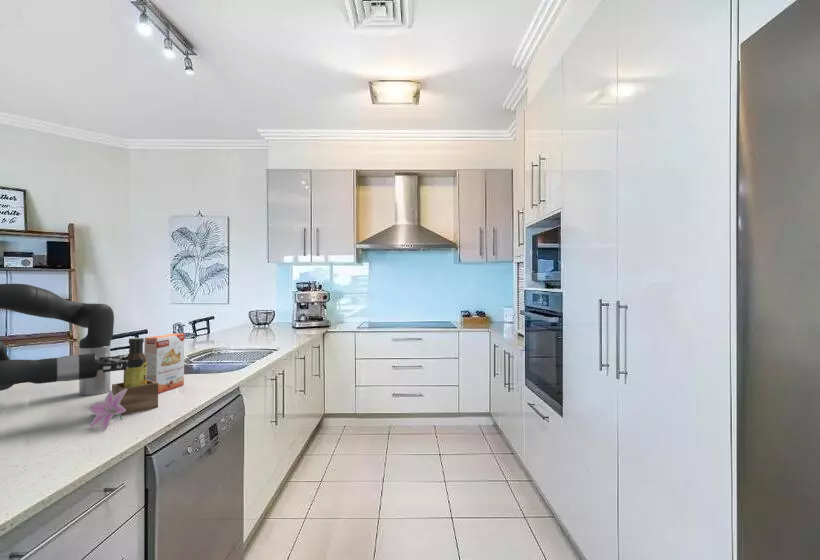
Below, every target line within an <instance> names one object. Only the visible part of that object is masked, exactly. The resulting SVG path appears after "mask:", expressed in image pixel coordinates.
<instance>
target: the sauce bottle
mask: <svg viewBox="0 0 820 560" xmlns="http://www.w3.org/2000/svg"><path fill="white" fill-rule="evenodd" d="M128 339H129V340H128V343H129V350H128V352H129V353H128V354H127V355H126V356H127V357H126V356H125V357H126V358H125V360H136V359H142V360H143V365H142V366H138V367H130V368H129V367H128V368H127V369H126V370H123V382H124V384H123V388H130V387H136V386H142V385H146V380H147V359H146V356H145V355H144V343H145V337H130V338H128Z"/></svg>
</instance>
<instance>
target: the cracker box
mask: <svg viewBox="0 0 820 560" xmlns="http://www.w3.org/2000/svg"><path fill="white" fill-rule="evenodd" d="M185 335H186V334H185V333H169V334H168V333H167V334H162V335H154V336H149V337H144V347H143V353H144V355H145V356H146V359H147V379H149V380H151V381H154V382H157V383H158V394H160V393H163V392H167V391H169V390H173V389H176V388H179V386H180V387H182V385H183V386H184V385H185V384H184V383H185V379H184V378H185V344H186V343H185V341H186V339H185Z"/></svg>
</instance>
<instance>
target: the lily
mask: <svg viewBox="0 0 820 560" xmlns="http://www.w3.org/2000/svg"><path fill="white" fill-rule="evenodd" d="M126 391H127V389H124V390H122V391H120V392H119V393H117V394H116V395H113V393H112V389H110V391H108V392H107V394H106V396H105V399H104V400H103V401H98V402H95V403H92V404H91V405H89V406H88V407H87V408H88V410H89V412H90V413H91V414H93V415H95V417H94V418H93V420H92V421H91V423H90V425H89V428H90V427H91V428H93V427H94V426H96V425H98V424H99V425H100V427H101V429H102V430H106V431H107V429H108V427H109V425H110V423H111V420H112V418H113V417H114V416H116V415H117V416H118V417H119V419H120V420H121V421H123V418H122V416H121V414H120V413H123V412H125V411H126V409H125V408H124V407H123V406H121V405H119V403H120V401H121V399H122V398H123V396H124V395H125V393H126Z"/></svg>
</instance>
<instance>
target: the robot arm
mask: <svg viewBox="0 0 820 560" xmlns="http://www.w3.org/2000/svg"><path fill="white" fill-rule="evenodd" d="M0 309H2V310H7V311H11V312H15V313H20V314H24V315H28V316H34V317H39V318H44V319H45V318H46V319H55V320H59V321H62V322H66V323H70V324H71V325H75V326H78V327H81V328H86V329H87V334H86V336H85V337H83V338H81V339H80V340H79V343H78V345H79V346H78V347H79V350H78V352H79V353H78V354H73V355H64V356H60V357H52V358H51V357H50V358H41V359H40V358H39V359H10V357H9V355H8V354H7V352H6V347H5V344H4V342H3V340H2V337H1V336H0V392H1V391H2V392H3V391H6V390H7V389H10V388H12V387H13V386H14V385H17V384H25V383H31V384H36V385H37V384H47V383H56V382H57V383H58V382H71V381H78V394H80V396H95V394H96V395H100V394H104V393H108V392H109V391H110V390H111V372H116V371H124V370H126V369H127V368H128V367H129V368H130V367H138V366H142V365H143V360H142V359H136V360H125V358H126V357H127V355H126V356H124V355H114V356H113V355H112V356H111V340H112V339H113V335H114V325H115V315H114V310H113V308H112V307H111V306H110V305H108V304H105V303H84V302H79V301H78V302H77V301H72V300H69V299H64V298H63V297H61V296H60V295H58V294H56V293H54V292H53V291H50V290H49V289H45V288H42V287H39V286H35V285H31V284H27V283H26V284H25V283H0Z"/></svg>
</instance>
